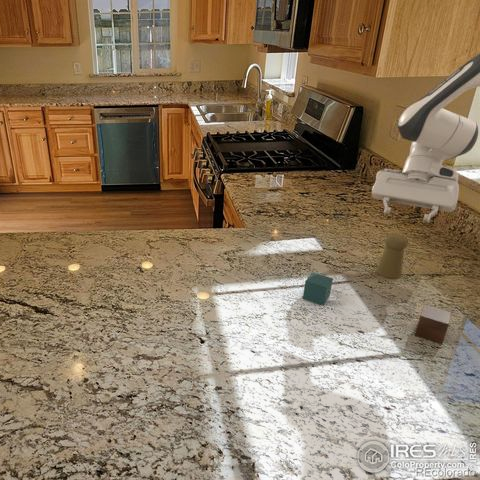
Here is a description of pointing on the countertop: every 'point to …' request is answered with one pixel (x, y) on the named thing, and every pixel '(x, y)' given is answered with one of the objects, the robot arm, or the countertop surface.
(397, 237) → the cork
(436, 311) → the block walnut
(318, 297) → the block teal
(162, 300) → the countertop surface
